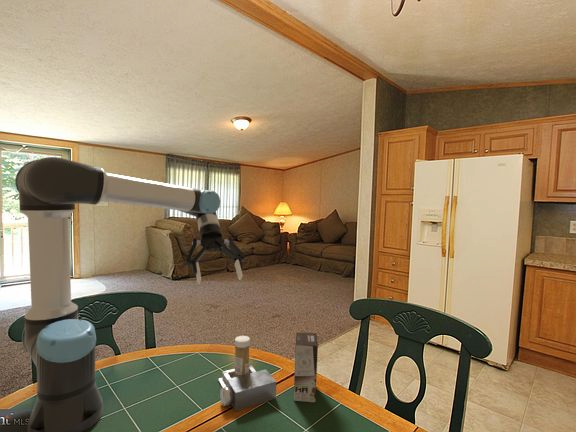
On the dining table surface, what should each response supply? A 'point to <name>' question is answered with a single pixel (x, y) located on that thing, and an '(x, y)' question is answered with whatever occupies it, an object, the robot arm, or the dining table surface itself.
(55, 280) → the robot arm
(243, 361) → the sprinkles bottle
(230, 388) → the grey open drawer box
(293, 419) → the dining table surface
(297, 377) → the coffee box
